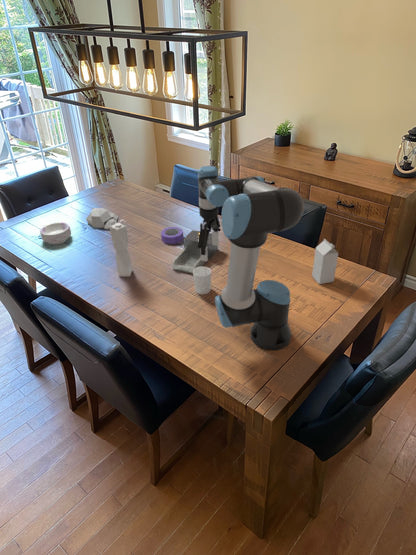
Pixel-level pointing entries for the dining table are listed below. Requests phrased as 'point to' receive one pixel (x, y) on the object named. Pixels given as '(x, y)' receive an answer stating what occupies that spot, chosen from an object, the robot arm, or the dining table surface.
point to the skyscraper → (121, 248)
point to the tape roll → (176, 235)
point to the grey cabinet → (192, 253)
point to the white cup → (202, 280)
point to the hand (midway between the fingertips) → (210, 252)
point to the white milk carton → (325, 263)
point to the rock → (101, 218)
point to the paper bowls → (55, 233)
